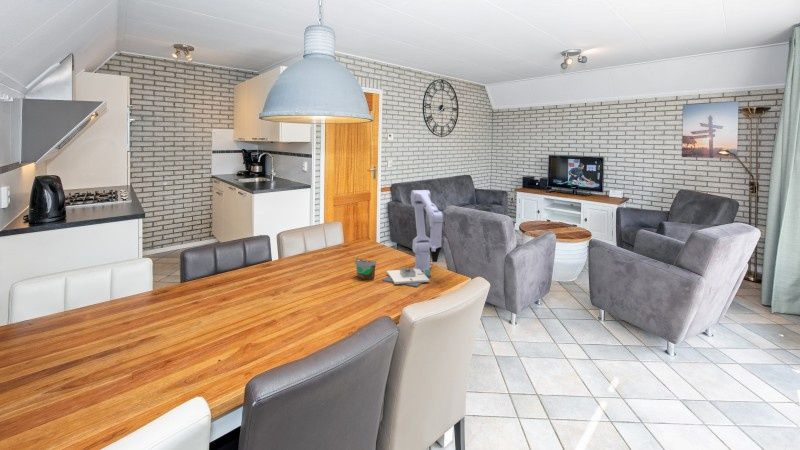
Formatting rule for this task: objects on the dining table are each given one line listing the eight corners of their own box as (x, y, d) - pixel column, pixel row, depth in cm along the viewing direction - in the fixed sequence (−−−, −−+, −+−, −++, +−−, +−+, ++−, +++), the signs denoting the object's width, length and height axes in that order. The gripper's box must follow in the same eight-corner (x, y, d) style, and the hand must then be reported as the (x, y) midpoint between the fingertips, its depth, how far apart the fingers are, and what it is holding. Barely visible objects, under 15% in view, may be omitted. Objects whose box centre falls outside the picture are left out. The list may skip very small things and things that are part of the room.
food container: (350, 278, 211) (349, 259, 209) (356, 275, 216) (356, 256, 214) (370, 282, 206) (370, 263, 203) (376, 279, 211) (376, 260, 209)
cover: (400, 273, 214) (400, 267, 213) (411, 272, 216) (412, 266, 215) (403, 277, 208) (403, 270, 207) (415, 276, 210) (415, 270, 209)
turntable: (386, 272, 218) (386, 266, 218) (424, 270, 224) (424, 263, 223) (394, 284, 201) (394, 277, 201) (435, 281, 207) (435, 274, 206)
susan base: (398, 270, 225) (398, 269, 225) (431, 276, 217) (431, 274, 217) (382, 281, 208) (382, 279, 208) (416, 287, 200) (416, 286, 200)
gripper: (430, 232, 214) (429, 257, 217) (425, 238, 200) (424, 264, 203) (443, 232, 213) (442, 258, 216) (440, 239, 199) (439, 266, 202)
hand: (434, 261), depth 209 cm, fingers closed
